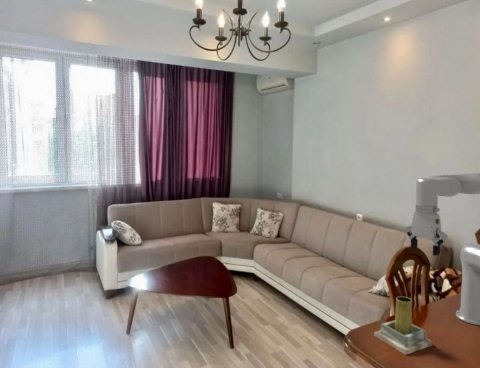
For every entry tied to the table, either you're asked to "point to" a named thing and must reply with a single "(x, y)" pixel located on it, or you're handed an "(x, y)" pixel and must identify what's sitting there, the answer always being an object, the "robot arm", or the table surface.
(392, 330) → the vase stand
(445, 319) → the table surface
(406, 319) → the vase
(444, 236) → the robot arm
